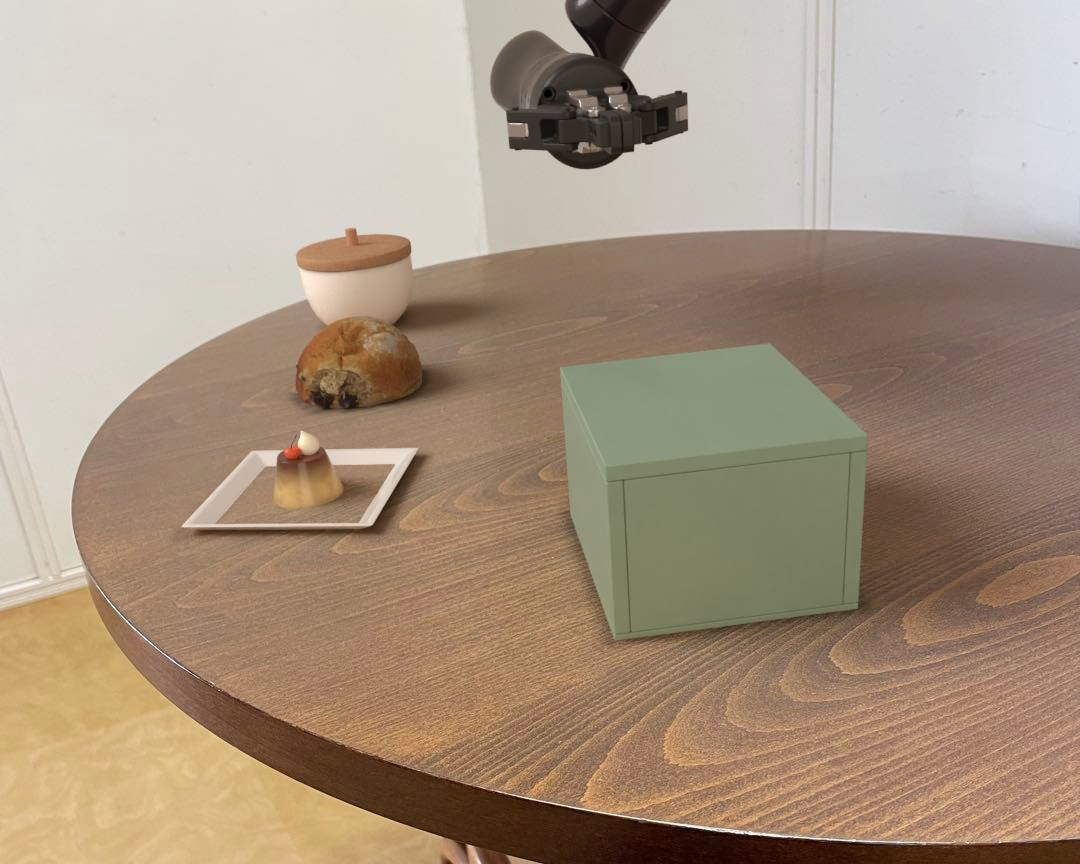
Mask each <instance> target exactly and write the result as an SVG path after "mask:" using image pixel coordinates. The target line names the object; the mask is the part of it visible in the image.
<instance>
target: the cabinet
mask: <svg viewBox="0 0 1080 864" xmlns="http://www.w3.org/2000/svg"><path fill="white" fill-rule="evenodd" d="M559 375H560V378H559V379H560V388H561V389H560V390H561V391H560V392H561V403H562V419H563V431H564V433H563V434H564V447H565V460H566V475H567V487H568V488H567V489H568V501H569V515H570V517H571V520H572V523H573V526H574V529H575V532H576V534H577V537H578V538H577V539H578V540H579V543H580V546H581V550H582V551H583V554H584V557H585V560H586V564H587V567H588V569H589V572H590V574H591V577H592V580H593V584H594V586H595V589H596V591H597V595H598V597H599V600H600V604H601V606H602V609H603V612H604V615H605V618H606V620H607V623H608V626H609V628H610V629H609V630H610V632H611V635H612V638H613V640H614V641H623V640H631V639H639V638H645V637H653V636H661V635H667V634H669V635H670V634H677V633H685V632H692V631H699V630H707V629H712V628H721V627H729V626H736V625H743V624H744V625H745V624H750V623H751V624H753V623H759V622H766V621H775V620H781V619H782V620H783V619H789V618H797V617H804V616H811V615H812V616H813V615H819V614H827V613H828V614H829V613H834V612H842V611H851V610H857V609H859V599H860V597H859V596H860V581H861V563H862V545H863V531H864V530H863V528H864V511H865V493H866V475H867V461H868V451H867V450H868V443H869V434H868V433H867V432H866V431H865V430H864V429H862V428H861V426H859V424H857V423H856V422H855V421H854V420H853V419H852V418H851V417H850V416H849V415H847V414H846V413H845V411H843V409H841V408H840V407H839V406H838V405H837V404H835V403H834V401H833V400H831V399H830V398H829V397H828V396H827V395H826V394H825V393H824V392H823V390H821V389H820V388H818V387H817V385H815V384H814V382H812V381H811V380H810V379H809V378H808V377H807V376H806V375H804V373H803V372H802V371H801V370H800V369H798V368H797V367H796V366H795V365H794V364H793V363H792V362H790V360H789V359H787V358H786V357H785V356H784V355H783V354H782V353H781V352H780V351H779V350H778V349H777V348H776V347H775V346H773V344H771V343H769V342H768V343H759V344H753V345H751V344H750V345H744V346H743V345H742V346H735V347H726V348H718V349H707V350H699V351H691V352H690V351H689V352H680V353H673V354H672V353H671V354H663V355H655V356H647V357H637V358H629V359H619V360H611V361H601V362H592V363H584V364H576V365H575V364H574V365H568V366H567V365H566V366H561V367H559Z"/></svg>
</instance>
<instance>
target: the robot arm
mask: <svg viewBox="0 0 1080 864" xmlns="http://www.w3.org/2000/svg"><path fill="white" fill-rule="evenodd" d="M671 1H672V0H565V1H564V12H565V15H566V18H567V20H568V21H569V23H570V25H571V26H572V27H573V29H574V30H575V32H576V33H577V34H578V35H579V36H580V38H581V40H583V41H584V42H585V44H586V45H587V46H588V48H589V50H590V51H591V53H592V54H587V53H584V52H570V51H567V50H566V49H565V48H563V47H562V46H561V45H560V44H558V43H557V42H556V41H555V40H553V39H552V38H551V37H549V36H548V35H546V34H545V33H544V32H542V31H541V30H535V29H534V30H533V29H532V30H531V29H530V30H527V31H524V32H521V33H519V34H517V35H515V36H513V37H512V38H511V39H510V40H508V41H507V42H506V43H505V44H504V45H503V47H502V48H501V49H500V50H499V53H498V54H497V56H496V58H495V59H494V62H493V64H492V68H491V71H490V76H489V90H490V96H491V98H492V100H493V102H494V103H495V104H496V105H497V106H498V107H499V108H500V109H501V110H503V111H504V112H505V116H506V117H505V118H506V126H507V137H508V148H509V149H510V150H514V151H523V150H525V151H526V150H528V151H547V153H549V155H550V156H552V157H553V158H554V160H557V161H558V162H559V163H561V164H563V165H565V166H567V167H569V168H573V169H577V170H595V169H599V168H603V167H605V166H607V165H609V164H611V163H613V162H614V161H616V160H618V159H619V158H620V157H621V156H622V155H623V154H625V153H634V152H635V146H637V145H641V144H644V145H646V146H649V145H653V144H654V143H658V142H660V141H663V140H666V139H668V138H669V139H670V138H671V137H674V136H677V135H680V134H681V135H682V134H684V133H685V132H688V131H689V103H688V100H689V99H688V92H687V91H683V90H674V92H671V93H668V94H660V95H658V96H657V97H654V98H652V97H651V96H649V95H646V94H639V93H638V90H637V89H636V86H635V85H634V83H633V81H632V80H631V78H630V76H629V75H628V74H627V73H626V72H625V71H624V70H625V68H626V66H627V64H628V62H629V60H630V58H631V57H632V55H633V53H634V52H635V50H636V48H637V47H638V45H639V44H640V42H641V41H642V39H644V37H645V35H646V34H647V32H648V31H649V30H650V29H651V28H652V27H653V25H654V24H655V22H656V21H657V20H658V18H659V17H660V16H661V14H662V13H663V12H664V11H665V9H666V8H667V7H668V5H669V4H670V2H671Z"/></svg>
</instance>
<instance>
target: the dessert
mask: <svg viewBox="0 0 1080 864" xmlns="http://www.w3.org/2000/svg"><path fill="white" fill-rule="evenodd" d="M297 437H298V435H297V434H296V435H295V437H294V439H293V441H292V442H291V444H290V447H286V448H285V449H270V450H267V449H266V450H265V449H264V450H262V449H261V450H251V451H250V452H249V453H248V454H247V455H246V457H244V458H243V460H242V461H241V462H240V463H239V464H238V465H237V466H236V467H235V468H234V469H233V470H232V471H231V473H230V474H229V475H227V477H226V478H225V479H224V480H223V481H222V482H221V483H220V484H219V485H218V486H217V487H216V488H215V490H214V491H212V493H211V494H210V495H209V496H208V497H207V498H206V499H205V500H204V501H203V502H202V503H201V504H200V506H199V507H198V508H196V510H195V511H194V512H193V513H192V514H191V515H190V516H189V517H188V518H187V519H186V520H185V522H184V523H183V524H182V525H181V528H184V529H190V530H191V529H192V530H199V531H258V530H259V531H263V530H264V531H265V530H266V531H267V530H268V531H272V530H273V531H275V530H279V531H281V530H283V531H284V530H287V531H288V530H290V531H291V530H292V531H293V530H362V529H366V528H369V527H372V526H374V524H375V522H376V520H377V518H378V517H379V516H380V514H381V512H382V511H383V508H384V507H385V505H386V504H387V502H388V501H389V499H390V497H391V495H392V494H393V492H394V490H395V488H396V487H397V485H398V483H399V482H400V480H401V479H402V477H403V475H404V473H405V472H406V471H407V469H408V467H409V465H410V463H411V462H412V460H413V459H414V457H415V455H416V453H417V452H418V450H419V447H379V448H378V447H377V448H376V447H375V448H374V447H373V448H329V449H328V448H324V447H323V446H321V445H320V441H319V439H318V438H317V437H316V436H315V435H313V434H311V433H309V432H306V431H304V430H300V435H299V438H298V441H297V445H293V443H294V442H295V441H296V439H297ZM352 465H353V466H355V465H356V466H360V465H361V466H362V465H363V466H364V465H394V466H393V467H392V469H391V471H390V472H389V474H388V476H387V477H386V479H384V481H383V484H382V485H381V486H380V488H379V489H378V491H377V493H376V494H375V496H374V498H373V499H372V501H371V502H370V504H369V506H368V507H367V509H366V510H365V512H364V514H363V515H362V517H361V519H360V520H359V522H302V523H301V522H298V523H297V522H293V523H292V522H291V523H290V522H287V523H279V522H278V523H218V521H220V519H221V518H222V517H223V516H224V515H225V514H226V512H228V510H229V509H230V508H231V506H232V505H233V504H234V503H235V502H236V501H237V500H238V498H239V497H240V496H241V495H242V494H243V492H245V491H246V489H247V488H248V487H249V486H250V485H251V484H252V482H253V481H254V480H255V479H257V477H258V476H259V474H261V472H262V471H263V470H264V469H265V468H267V467H275V474H274V475H275V476H274V486H273V494H272V502H273V503H274V504H275V505H276V506H278V507H281V508H283V509H288V510H289V509H290V510H292V509H293V510H300V509H302V510H303V509H310V508H311V509H312V508H316V507H319V506H323V505H326V504H328V503H331V502H333V501H335V500H337V499H338V498H339V497H341V496H342V495H343V493H344V491H345V487H344V486H343V483H342V482H341V479H340V477H339V476H338V474H337V472H336V471H337V470H336V469H335V467H334V466H352Z"/></svg>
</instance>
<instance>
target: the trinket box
mask: <svg viewBox="0 0 1080 864" xmlns="http://www.w3.org/2000/svg"><path fill="white" fill-rule="evenodd" d="M344 232H345V236H341V237H336V238H330V239H325V240H320V241H317V242H314V243H311V244H308V245H306V246H303V247H302V248H300V249H299V250H298V251H297V252H296V254H295V260H296V264H297V266H298V268H299V275H300V280H301V284H302V288H303V291H304V294H305V297H306V300H307V302H308V304H309V307H310V308H311V310H312V311H313V313H314V315H316V317H317V318H318V319H319V320H320V321H321V322H322V323H324V325H326V326H328V325H330V324H331V323H333V322H335V321H337V320H340V319H344V318H347V317H357V316H366V317H373V318H377V319H380V320H383V321H386V322H388V323H390V324H391V325H394V324H395V323H396V322H397V321H398V320H399V319H400V318H401V317H402V315H403V314H404V313H405V311H406V310H407V308H408V306H409V304H410V301H411V297H412V293H413V279H414V276H413V275H414V271H413V269H414V268H413V261H412V243H411V241H410V240H409V238H407V237H404V236H402V235H397V234H396V235H395V234H387V233H386V234H383V233H382V234H381V233H376V234H375V233H374V234H358V232H357V228H356V227H349V228H345V229H344Z"/></svg>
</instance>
